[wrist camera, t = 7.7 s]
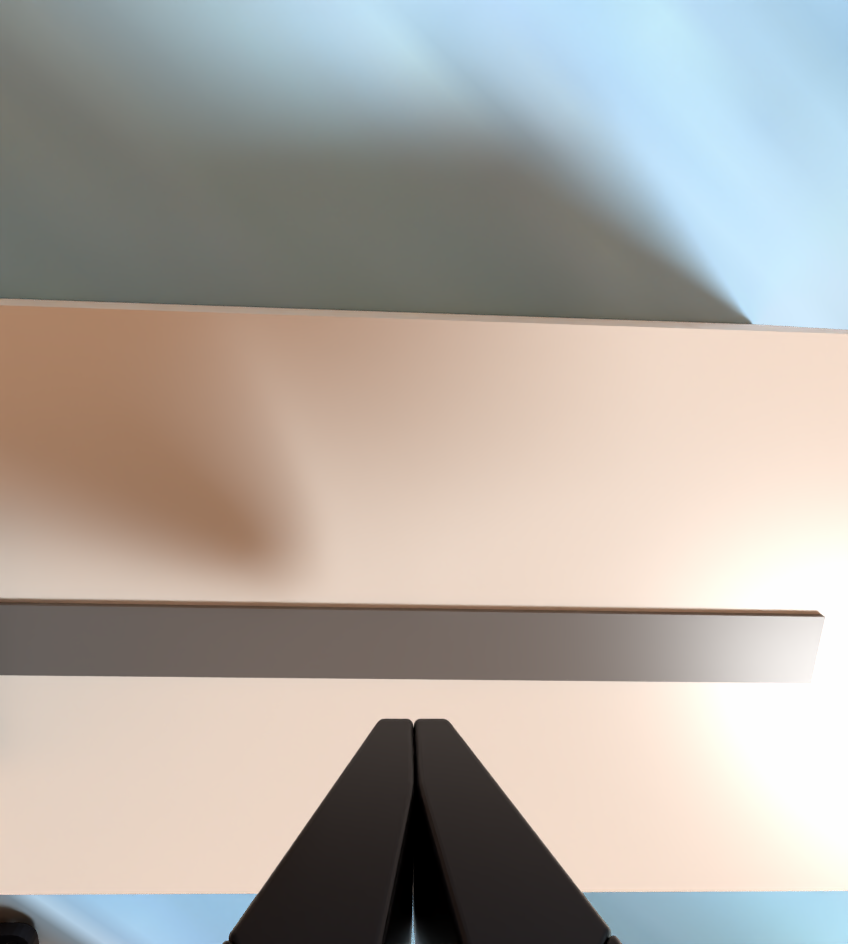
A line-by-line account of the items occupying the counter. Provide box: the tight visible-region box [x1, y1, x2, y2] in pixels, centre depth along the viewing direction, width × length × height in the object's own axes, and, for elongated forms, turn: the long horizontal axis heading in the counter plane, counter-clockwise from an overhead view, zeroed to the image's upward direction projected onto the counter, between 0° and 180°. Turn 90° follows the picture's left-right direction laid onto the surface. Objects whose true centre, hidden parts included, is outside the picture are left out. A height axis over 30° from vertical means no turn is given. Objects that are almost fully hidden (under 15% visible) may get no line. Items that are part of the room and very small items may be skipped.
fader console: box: [0, 298, 848, 895], centre depth 13 cm, size 10×22×7 cm, turn 88°
